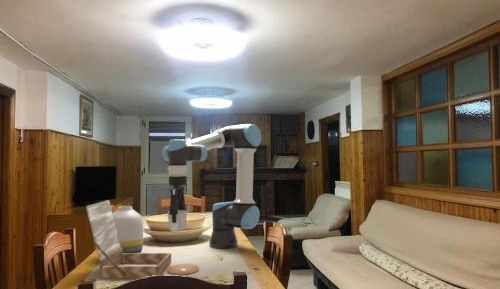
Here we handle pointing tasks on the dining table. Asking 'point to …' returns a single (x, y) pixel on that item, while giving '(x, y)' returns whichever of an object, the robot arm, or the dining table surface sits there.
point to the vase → (129, 229)
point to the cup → (179, 219)
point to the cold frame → (119, 248)
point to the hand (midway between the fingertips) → (177, 228)
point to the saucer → (182, 269)
